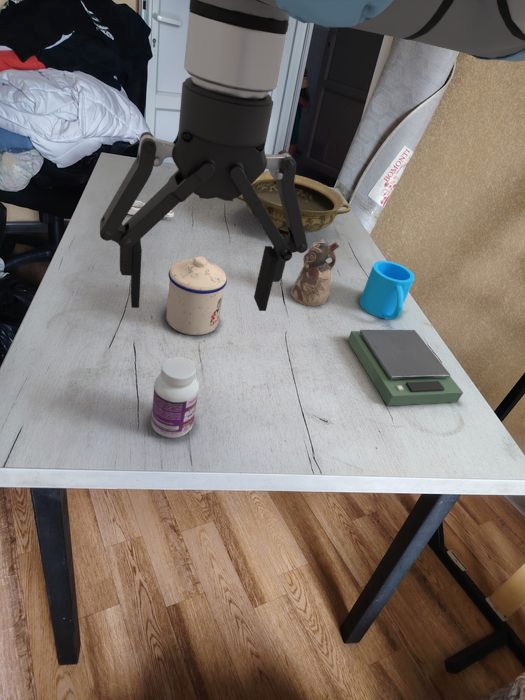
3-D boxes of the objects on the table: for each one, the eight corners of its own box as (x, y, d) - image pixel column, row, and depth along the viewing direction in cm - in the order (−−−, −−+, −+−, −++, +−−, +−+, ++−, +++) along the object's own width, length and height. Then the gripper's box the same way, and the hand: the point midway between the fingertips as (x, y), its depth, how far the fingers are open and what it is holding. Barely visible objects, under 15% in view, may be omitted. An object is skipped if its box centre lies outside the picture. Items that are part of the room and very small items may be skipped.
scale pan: (449, 377, 77) (450, 375, 77) (390, 379, 74) (391, 376, 73) (413, 332, 86) (414, 329, 85) (359, 332, 82) (360, 329, 82)
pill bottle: (190, 442, 60) (199, 386, 54) (147, 437, 59) (152, 379, 53) (195, 411, 64) (203, 355, 58) (154, 406, 63) (159, 349, 57)
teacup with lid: (221, 339, 77) (232, 277, 70) (164, 335, 75) (169, 270, 68) (216, 298, 87) (225, 239, 80) (165, 294, 85) (170, 233, 77)
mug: (355, 293, 98) (368, 258, 93) (391, 298, 100) (406, 263, 95) (370, 328, 89) (385, 291, 84) (410, 332, 91) (428, 296, 86)
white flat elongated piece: (174, 213, 112) (175, 206, 111) (173, 222, 108) (173, 214, 107) (117, 203, 109) (117, 196, 108) (113, 212, 106) (113, 205, 105)
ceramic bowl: (330, 216, 129) (341, 180, 123) (355, 259, 111) (369, 219, 105) (220, 201, 123) (226, 161, 117) (226, 244, 104) (234, 200, 98)
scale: (457, 402, 77) (464, 390, 75) (387, 406, 73) (393, 393, 71) (409, 340, 88) (415, 328, 87) (347, 340, 84) (352, 328, 83)
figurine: (291, 283, 96) (306, 228, 89) (325, 290, 97) (343, 236, 90) (291, 302, 91) (306, 245, 83) (327, 309, 91) (346, 253, 84)
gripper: (350, 97, 45) (296, 287, 58) (66, 47, 38) (77, 278, 51) (383, 120, 40) (316, 324, 53) (60, 66, 32) (74, 320, 45)
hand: (199, 302), depth 52 cm, fingers open, 13 cm apart
